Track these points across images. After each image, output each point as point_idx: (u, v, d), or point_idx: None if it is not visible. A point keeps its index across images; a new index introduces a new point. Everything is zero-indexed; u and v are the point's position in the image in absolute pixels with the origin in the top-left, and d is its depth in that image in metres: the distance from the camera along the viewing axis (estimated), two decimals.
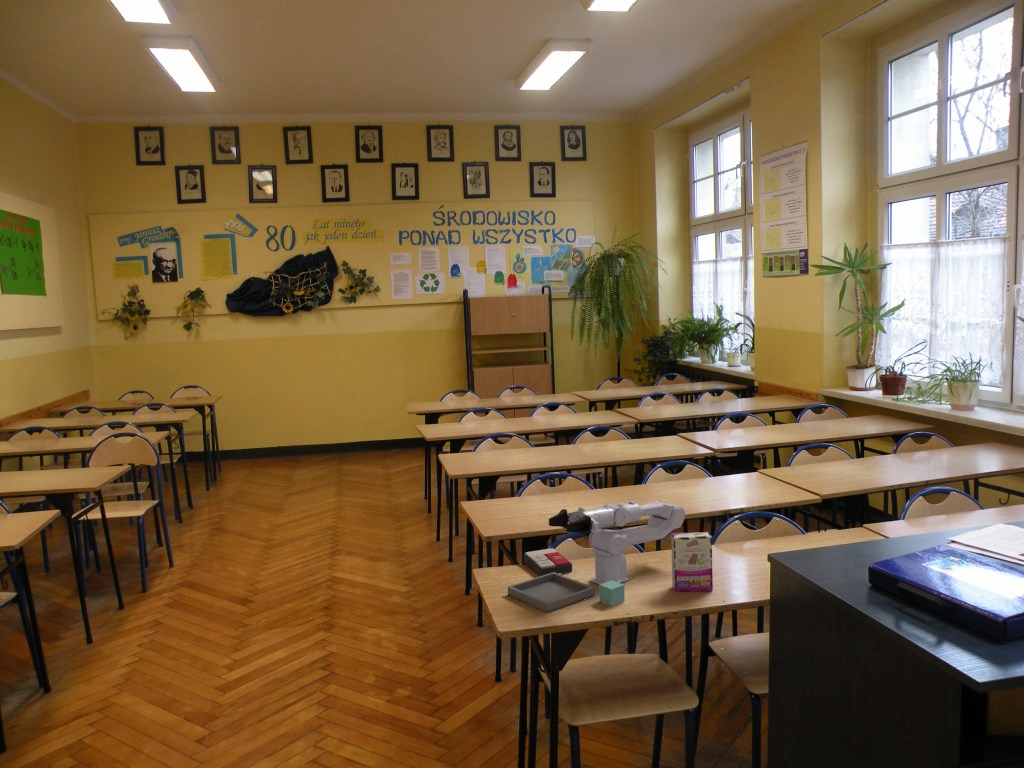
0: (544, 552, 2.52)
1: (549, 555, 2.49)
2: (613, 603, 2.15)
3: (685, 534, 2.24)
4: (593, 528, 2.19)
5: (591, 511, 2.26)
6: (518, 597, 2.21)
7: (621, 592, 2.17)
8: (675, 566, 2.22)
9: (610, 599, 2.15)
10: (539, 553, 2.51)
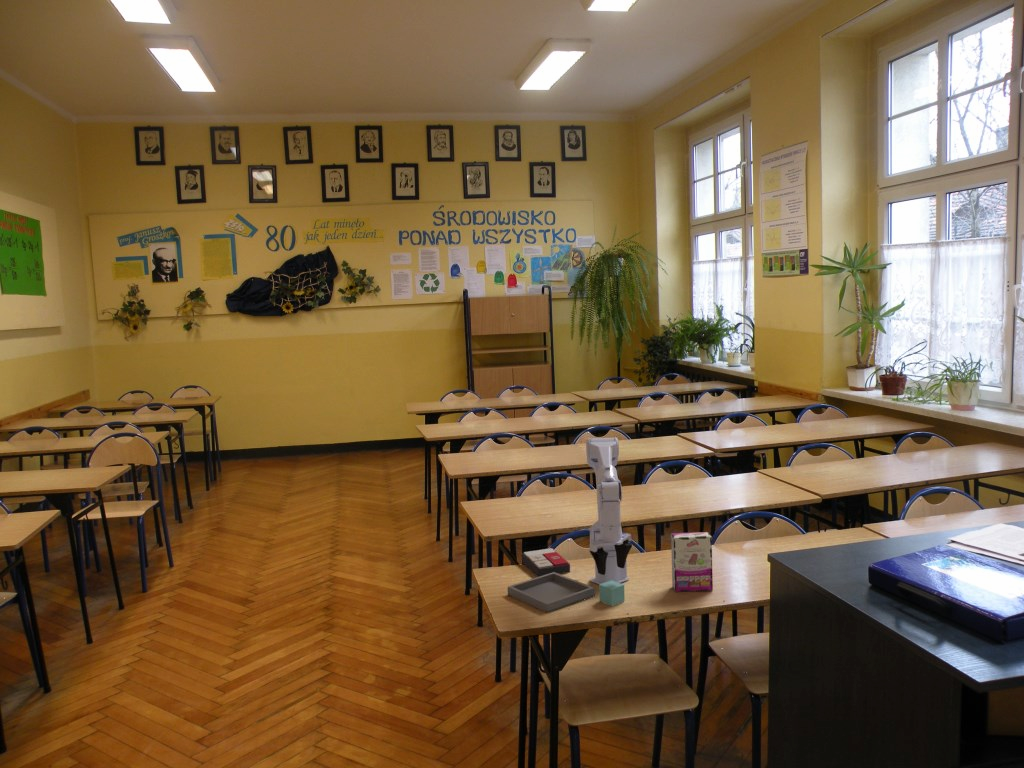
0: (542, 552, 2.52)
1: (547, 555, 2.49)
2: (613, 603, 2.15)
3: (685, 534, 2.24)
4: None
5: (619, 530, 2.14)
6: (518, 597, 2.21)
7: (621, 592, 2.17)
8: (675, 566, 2.22)
9: (610, 599, 2.15)
10: (537, 553, 2.51)
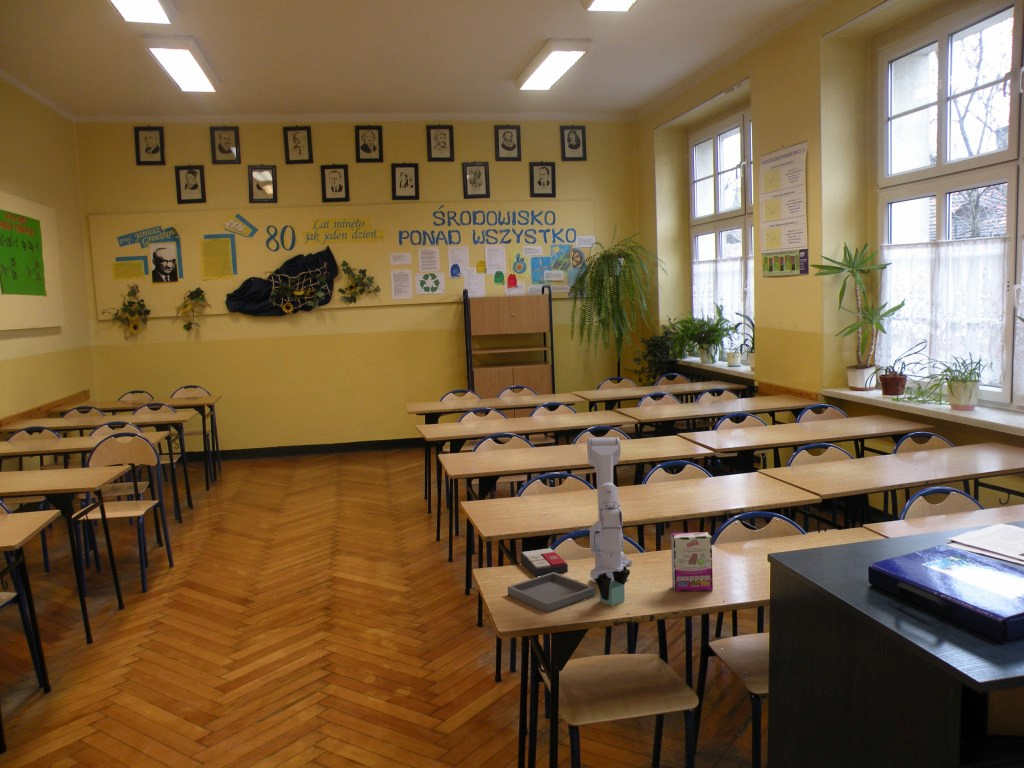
0: (541, 552, 2.52)
1: (545, 555, 2.49)
2: (613, 603, 2.15)
3: (685, 534, 2.24)
4: None
5: (620, 556, 2.15)
6: (518, 597, 2.21)
7: (621, 592, 2.17)
8: (675, 566, 2.22)
9: (610, 598, 2.15)
10: (536, 553, 2.51)
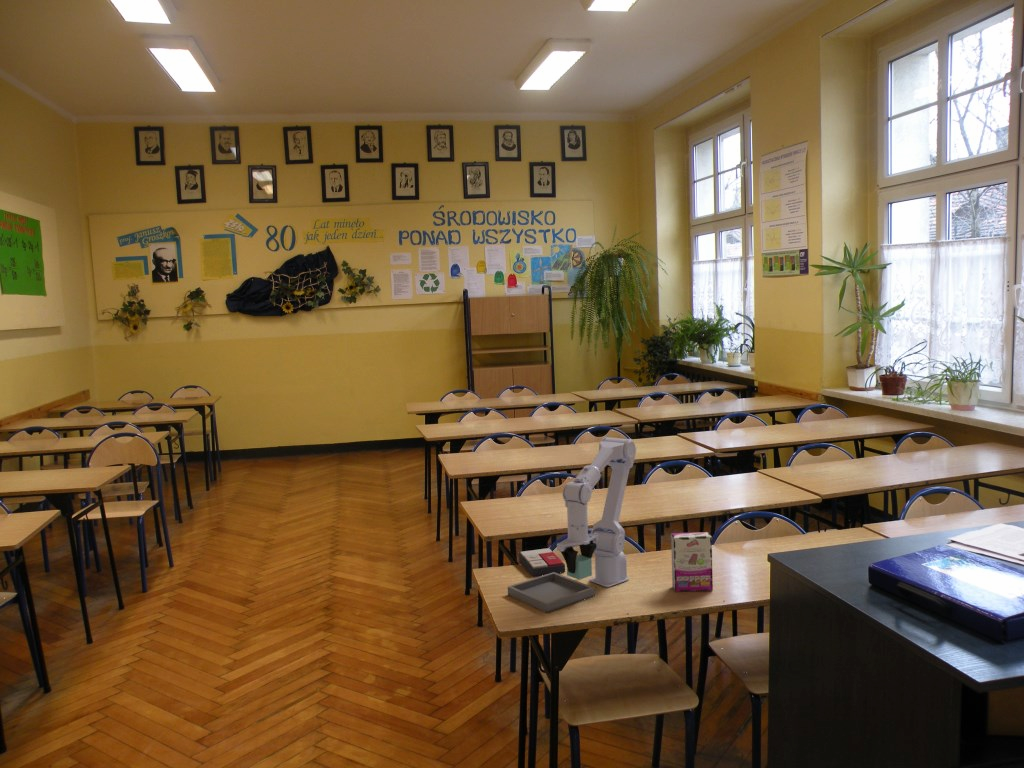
0: (539, 552, 2.52)
1: (543, 555, 2.49)
2: (580, 576, 2.17)
3: (685, 534, 2.24)
4: None
5: (586, 530, 2.17)
6: (518, 597, 2.21)
7: (588, 566, 2.19)
8: (675, 566, 2.22)
9: (577, 572, 2.17)
10: (534, 553, 2.51)
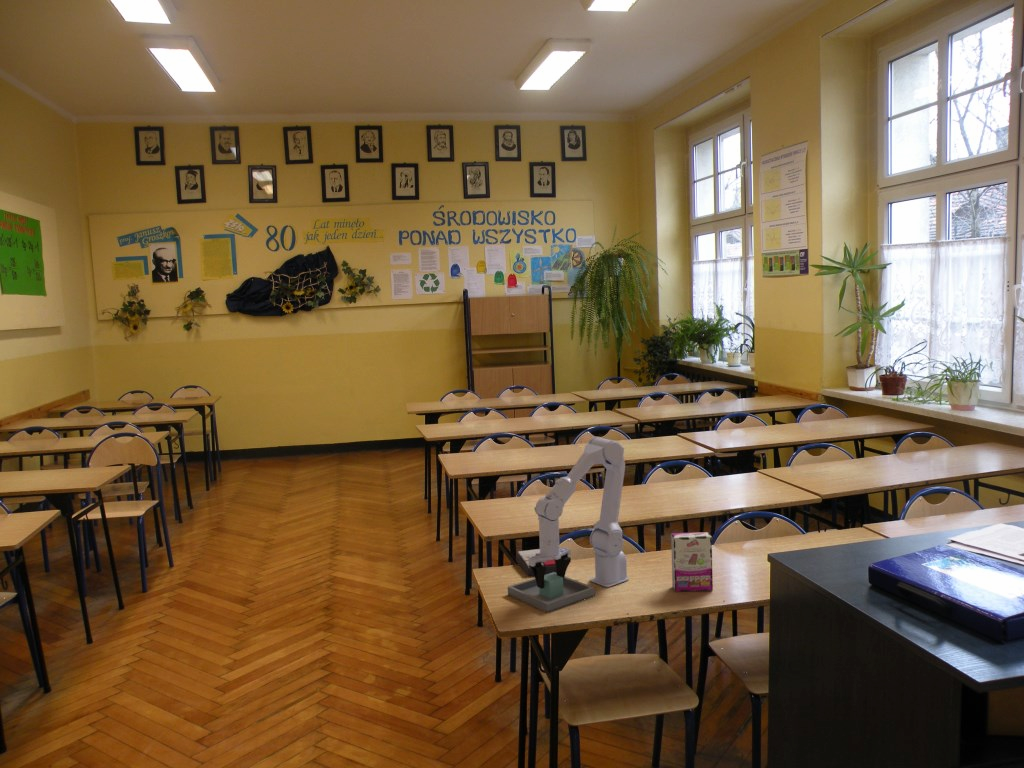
0: (537, 552, 2.52)
1: None
2: (551, 595, 2.20)
3: (685, 534, 2.24)
4: None
5: (557, 545, 2.21)
6: (518, 597, 2.21)
7: (560, 585, 2.22)
8: (675, 566, 2.22)
9: (548, 591, 2.20)
10: (531, 553, 2.52)
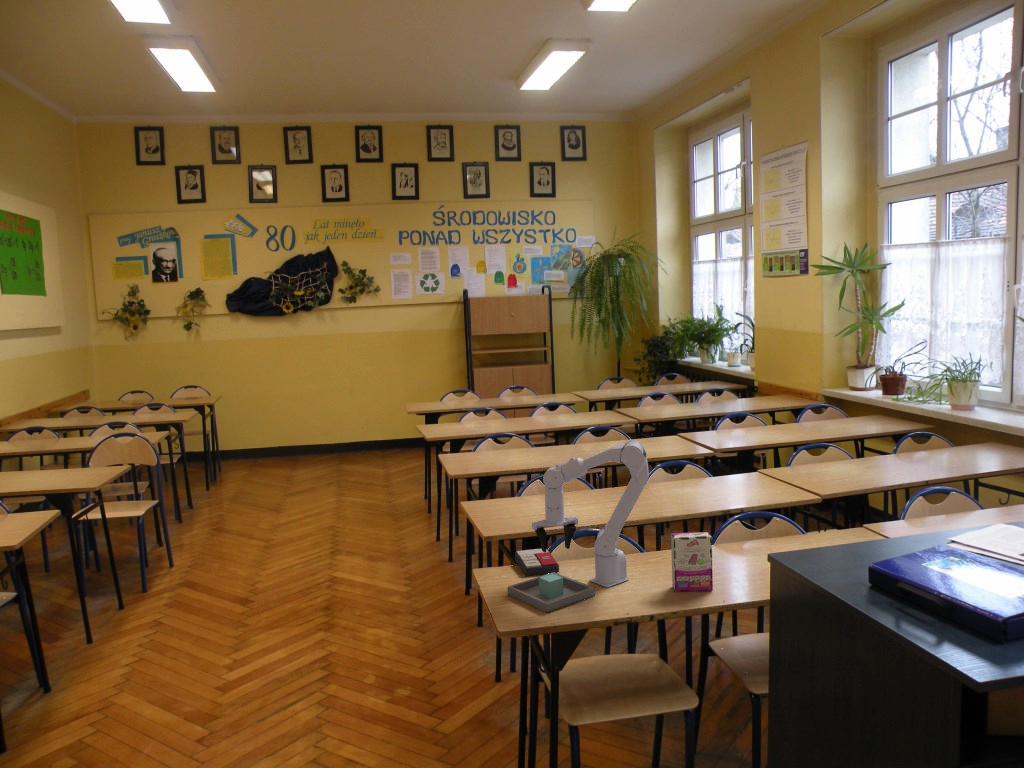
0: (535, 552, 2.52)
1: (539, 555, 2.49)
2: (551, 595, 2.20)
3: (685, 534, 2.24)
4: None
5: (560, 512, 2.32)
6: (518, 597, 2.21)
7: (560, 585, 2.22)
8: (675, 566, 2.22)
9: (548, 591, 2.20)
10: (530, 552, 2.52)
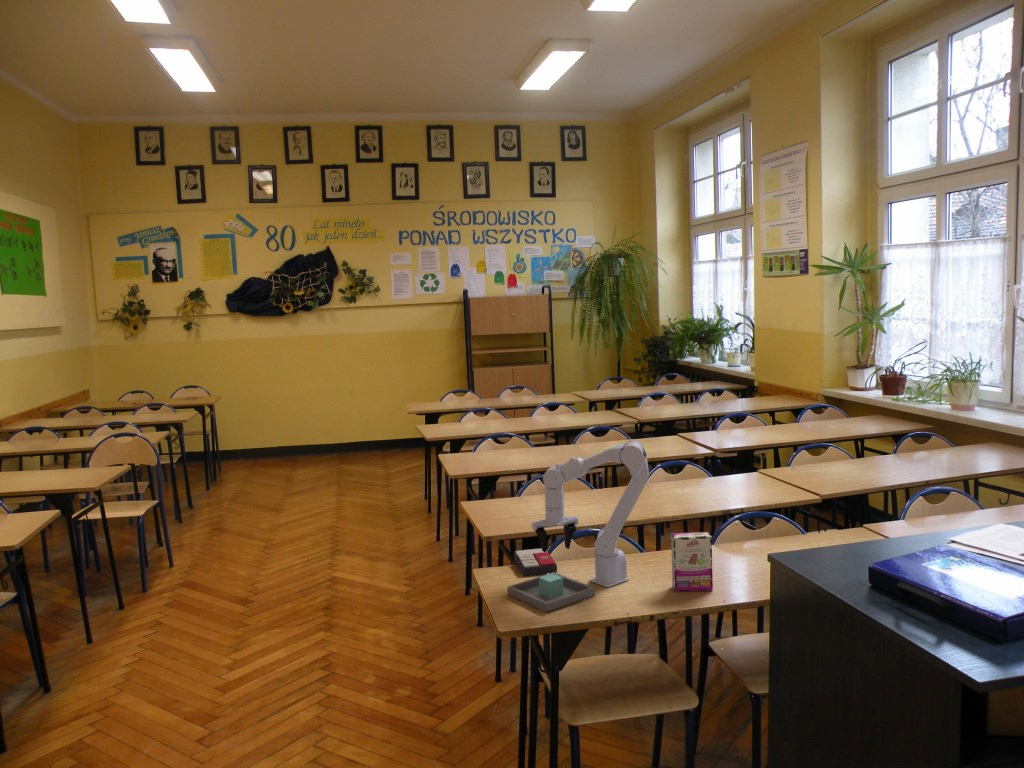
0: (534, 552, 2.53)
1: (537, 555, 2.49)
2: (551, 595, 2.20)
3: (685, 534, 2.24)
4: None
5: (560, 512, 2.32)
6: (518, 597, 2.21)
7: (560, 585, 2.22)
8: (675, 566, 2.22)
9: (548, 591, 2.20)
10: (529, 552, 2.52)
